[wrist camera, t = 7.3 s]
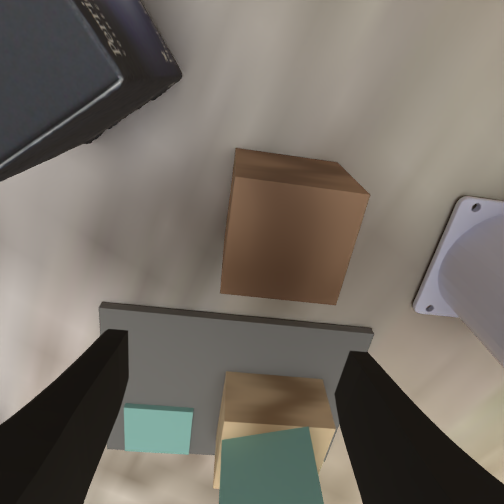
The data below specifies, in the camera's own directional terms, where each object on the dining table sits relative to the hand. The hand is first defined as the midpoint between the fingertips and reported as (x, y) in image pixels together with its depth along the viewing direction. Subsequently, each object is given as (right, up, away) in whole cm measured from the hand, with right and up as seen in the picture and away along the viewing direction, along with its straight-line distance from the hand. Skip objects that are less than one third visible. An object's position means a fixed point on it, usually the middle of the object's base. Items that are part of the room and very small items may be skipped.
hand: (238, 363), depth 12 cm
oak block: (+2, -8, +15) cm, 18 cm away
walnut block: (+2, +6, +9) cm, 11 cm away
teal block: (+2, -10, +12) cm, 16 cm away
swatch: (-7, -10, +16) cm, 20 cm away
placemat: (-1, -7, +15) cm, 17 cm away
